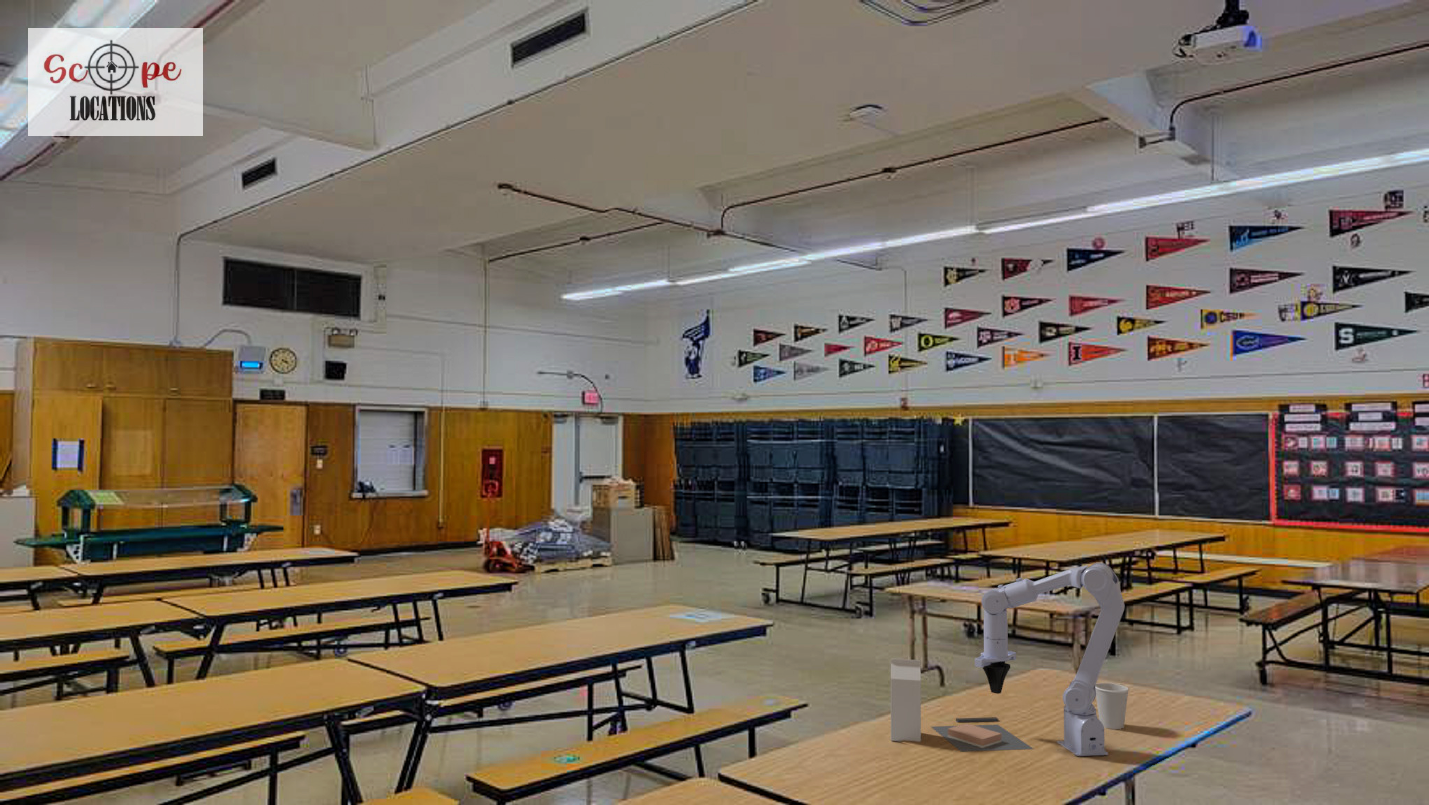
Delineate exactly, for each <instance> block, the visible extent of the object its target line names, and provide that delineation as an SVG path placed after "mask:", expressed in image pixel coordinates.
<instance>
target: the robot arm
mask: <svg viewBox="0 0 1429 805" xmlns="http://www.w3.org/2000/svg"><path fill="white" fill-rule="evenodd" d="M1069 586H1071V587H1074V588H1076V589H1082V588H1083V587H1084V589H1085V590H1086V591H1087V592H1088V593H1089V594H1091V595H1092V597H1093V598H1094V599H1095V600H1096V602H1097V604H1098V606H1099V608H1100V612H1099V615H1098V617H1097V620H1096V622H1095V624H1094V628H1093V630H1092V633H1091V635H1090V639H1089V641H1088V643H1087V645H1086V649H1085V650H1084V655H1083V656H1082V659H1081V660H1080V665H1079V667H1078V669H1077V672H1076V674H1075V676H1074V678H1073V680H1071V682H1070V683H1069V685H1068V687H1067V688H1066V689H1065V690H1064V692H1063V694H1062V701H1063V704H1064V706H1063V740H1058V741H1056V743H1057V744H1058V745H1060V746H1062V747H1063V748H1064V749H1067V750H1068V751H1069V752H1071V753H1073V755H1075V756H1077V757H1087V756H1089V757H1091V756H1108V755H1109V752H1107V751H1106V750H1105V749H1106V748H1105V747H1106V745H1105V728H1104V726H1103V724H1102V722H1101V721H1100V720H1099V717H1098V715H1097V708H1096V707H1095V705H1094V704H1093V702H1094V701H1095V699H1096V688H1095V686H1096V684H1097V682H1098V680H1099V675H1100V674H1101V670H1102V667H1103V665H1104V662H1105V660H1106V657H1107V654H1108V652H1109V649H1110V647H1111V644H1112V642H1113V639H1114V636H1115V634H1116V632H1117V630H1118V629H1117V628H1118V627H1119V624H1120V622H1121V619H1122V616H1123V613H1124V611H1125V607H1126V606H1125V602H1124V598H1123V594H1122V591H1121V586H1120V583H1119V577H1118V576H1117V575H1116V573H1115V572H1114V570H1113V569H1112V568H1111V566H1109V565H1108V564H1106V563H1103V562H1095V563H1093V564H1092V565H1090V566H1089V565H1081V566H1076V567H1071V568H1068V569H1066V570H1064V571H1060V572H1058V573H1055V574H1052V575H1050V576H1047V577H1043V578H1041V579H1038V580H1035V581H1034V580H1031V579H1029V578H1022V577H1019V578H1016V579H1015V582H1011V583H1009V584H1005V585H1004V584H999V585H998V586H997V588H995V587H994V588H992V589H989V590H988V591H987V592H985V593H984V594H983V595H982V597H981V606H982V608H983V616H984V618H983V652H981V653H980V656H978V657H976V658H974V667H976V668H980V669H982V670H983V671H984V673H985V675H986V679H987V681H988V684H989V689H990V692H991V693H992V694H997V695H999V694H1002V691H1003V686H1004V683H1005V679H1006V676H1007V674H1008V673H1009V671H1010V670H1011V664H1010V663H1006V662H1008V661H1017V652H1014V651H1011V650H1009V645H1008V642H1009V641H1008V640H1009V639H1008V638H1009V637H1008V634H1009V632H1008V631H1009V630H1008V629H1009V626H1008V608H1009V609H1014V608H1017V607H1020V606H1024V605H1027V604H1029V603H1033V602H1036V601H1037V599H1038V597H1039V595H1040V594H1043V593H1048V592H1050V591H1054V590H1058V589H1060V588H1065V587H1069Z"/></svg>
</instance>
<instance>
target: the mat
mask: <svg viewBox="0 0 1429 805" xmlns="http://www.w3.org/2000/svg"><path fill="white" fill-rule="evenodd" d="M973 725H974V726H977V727H981V728H984V729H988V730H991V731H994V732H998V733H1001V742H1000V743H996V744H993V745H990V746H987V747H984V748H981V747H978V746H975V745H972V744H968V743H965V742H962V741H959V740H956V739H953V738H949V737H948V729H949V728H952V727H956V726H957V725H949V726H948V725H943V726H942V725H941V726H931V729H933V730H934V731H935V732H936V733H938V734H939V735H940V736H942V737H943V738H944V739H945V740H947V741H948V742H949V743H950V744H951V745H952V746H953V747H955V748H956V749H957V750H958V751H960V753H961V752H989V751H1014V750H1015V751H1018V750H1020V751H1021V750H1034V748H1033V747H1032V746H1030V745H1029V744H1027V743H1026V742H1024V741H1023V740H1021V739H1020V738H1018V736H1015V735H1014V734H1013V733H1011V732H1009V730H1007V729H1005V728H1003V727H1002V726H1000V725H999V724H978V725H977V724H976V725H975V724H973Z"/></svg>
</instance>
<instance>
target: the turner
mask: <svg viewBox="0 0 1429 805" xmlns="http://www.w3.org/2000/svg"><path fill="white" fill-rule="evenodd" d="M955 722H957V723H983V722H984V723H987V722H999V718H998V717H996V716H995V717H994V716H990V717H989V716H988V717H960V718H959V717H957V718H955Z"/></svg>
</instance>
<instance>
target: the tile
mask: <svg viewBox="0 0 1429 805" xmlns="http://www.w3.org/2000/svg"><path fill="white" fill-rule="evenodd" d="M974 725H975V724H970V723H968V722H965V723H963V724H960V725H955V726H956V727H952V728H949V729H948V737H949V738H953V739H956V740H959V741H962V742H965V743H968V744H972V745H975V746H978V747H981V748H984V747H987V746H990V745H993V744H996V743H1000V742H1001V733H998V732H994V731H991V730H988V729H984V728H981V727H977V726H974Z"/></svg>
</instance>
